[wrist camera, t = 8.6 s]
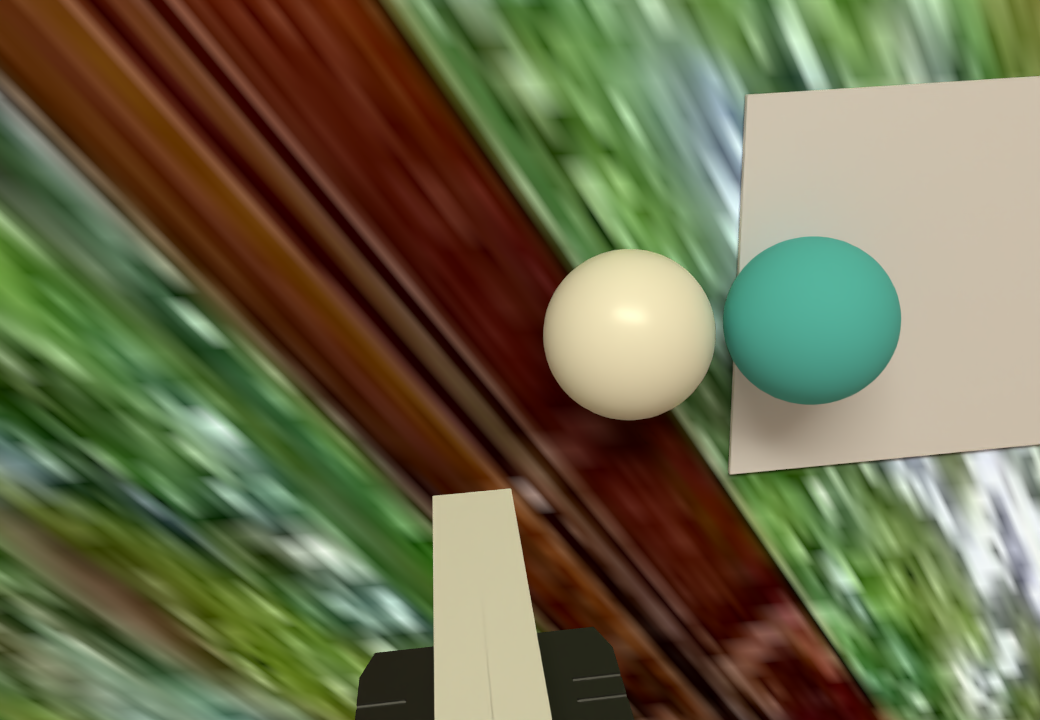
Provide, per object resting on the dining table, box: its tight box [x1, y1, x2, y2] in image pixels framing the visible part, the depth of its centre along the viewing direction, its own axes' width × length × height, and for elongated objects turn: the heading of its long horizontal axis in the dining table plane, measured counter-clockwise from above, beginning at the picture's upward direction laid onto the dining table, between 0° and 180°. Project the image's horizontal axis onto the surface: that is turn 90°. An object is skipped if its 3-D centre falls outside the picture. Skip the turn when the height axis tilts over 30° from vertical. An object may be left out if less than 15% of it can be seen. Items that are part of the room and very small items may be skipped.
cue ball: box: [543, 249, 716, 420], centre depth 27 cm, size 6×6×6 cm
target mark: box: [728, 76, 1040, 474], centre depth 30 cm, size 14×14×1 cm
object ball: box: [723, 236, 901, 405], centre depth 28 cm, size 6×6×6 cm
